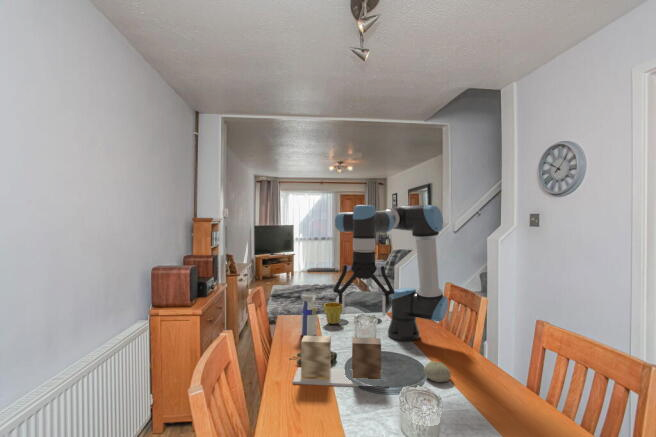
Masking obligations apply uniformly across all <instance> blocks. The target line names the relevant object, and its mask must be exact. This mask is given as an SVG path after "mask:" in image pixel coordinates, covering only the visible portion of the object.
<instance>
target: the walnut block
mask: <svg viewBox="0 0 656 437" xmlns="http://www.w3.org/2000/svg"><path fill="white" fill-rule="evenodd" d="M351 338H352V341H351V342H352V343H351V345H352V347H351V348H352V349H351V353H352V355H351V359H352V360H351V370H352V378H368V379H381V371H382V342H381V338H380V337H361V336H359V337H356V336H355V337H354V336H352V337H351Z"/></svg>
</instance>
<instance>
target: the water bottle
mask: <svg viewBox="0 0 656 437" xmlns="http://www.w3.org/2000/svg"><path fill="white" fill-rule="evenodd" d="M315 289H316V286H314V285H313V284H312V286H311V287H310V292H309V293H303V294H301V296H300V299H301V301H302V306H301V309H302V315H301V323H300V324H301V327H300V335H301V336H303V337H304V336H317V307H316V304H315V301H317V300H318V296H317V294H316V293H311V292H315Z"/></svg>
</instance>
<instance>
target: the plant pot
mask: <svg viewBox="0 0 656 437" xmlns="http://www.w3.org/2000/svg"><path fill="white" fill-rule="evenodd" d="M323 310H324V312H325V316H326V322H327V323H328V324H329V325H330V324H332V325H336V324H339V322H340V320H341V316H342V304H339V302H333V301H331V302H326V303H324V305H323Z"/></svg>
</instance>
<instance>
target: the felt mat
mask: <svg viewBox="0 0 656 437" xmlns="http://www.w3.org/2000/svg"><path fill="white" fill-rule="evenodd" d="M292 384H293V385H313V386H315V385H316V386H337V387H359V386H358V385H357V384H356V383H354V382H352V381H351V380H349V379H348V378H347V377H346V375H345V368H331V372H330V378H329V379H306V378H301V366H300V367H297V369H296V372H295V374H294V377H293V380H292Z"/></svg>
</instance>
